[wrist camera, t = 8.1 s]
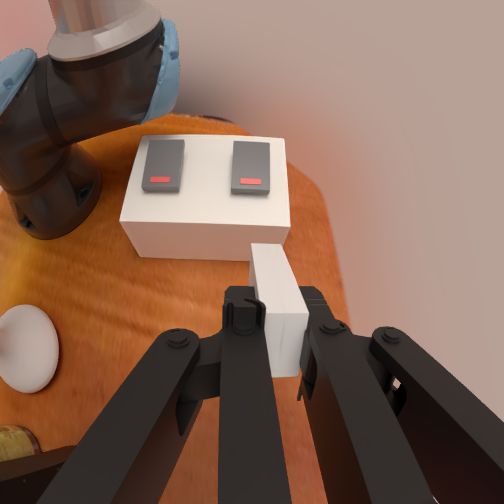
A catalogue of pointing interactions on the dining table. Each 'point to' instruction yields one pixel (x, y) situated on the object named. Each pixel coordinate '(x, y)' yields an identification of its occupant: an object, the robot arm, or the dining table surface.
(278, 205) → the switch box
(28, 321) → the flower in vase
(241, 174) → the rocker outer
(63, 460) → the tissue box
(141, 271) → the dining table surface
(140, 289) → the dining table surface
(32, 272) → the dining table surface
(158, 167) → the block
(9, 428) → the sauce bottle
